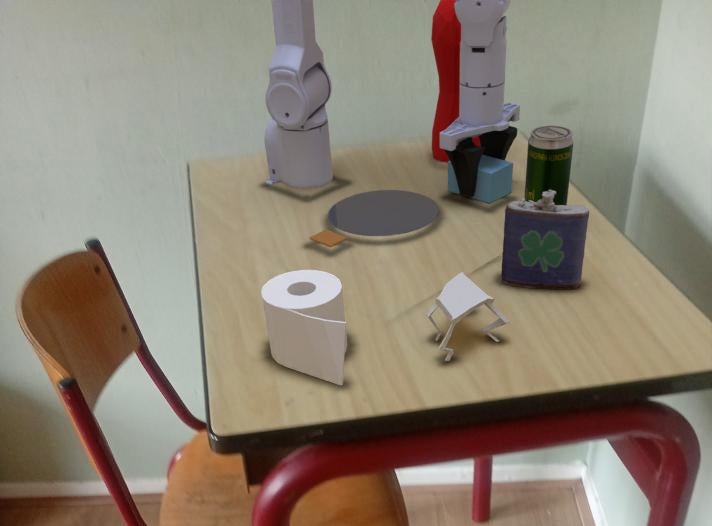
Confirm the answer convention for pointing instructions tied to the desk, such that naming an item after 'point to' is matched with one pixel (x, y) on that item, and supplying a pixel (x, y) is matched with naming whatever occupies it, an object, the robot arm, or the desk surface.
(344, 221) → the plate
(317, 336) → the toilet paper
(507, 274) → the flask
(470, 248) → the desk surface
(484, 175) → the sponge
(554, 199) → the beer can
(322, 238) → the orange cardboard box
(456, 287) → the origami figure
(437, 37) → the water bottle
